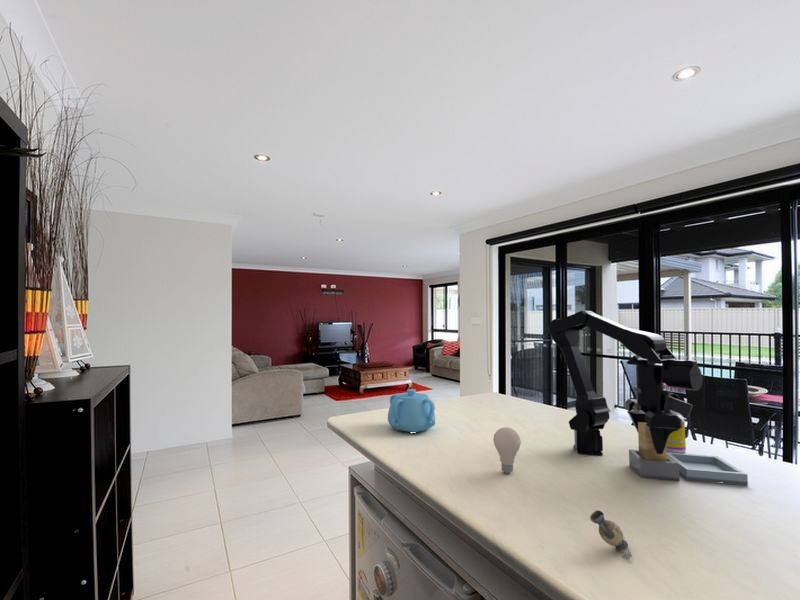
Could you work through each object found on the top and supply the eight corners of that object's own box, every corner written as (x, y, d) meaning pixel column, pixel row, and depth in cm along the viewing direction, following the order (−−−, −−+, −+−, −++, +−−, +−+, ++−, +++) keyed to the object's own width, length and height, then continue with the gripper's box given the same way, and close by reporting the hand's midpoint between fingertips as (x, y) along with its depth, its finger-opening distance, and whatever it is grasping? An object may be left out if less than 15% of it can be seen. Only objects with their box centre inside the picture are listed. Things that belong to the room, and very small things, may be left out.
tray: (687, 480, 89) (686, 469, 89) (664, 461, 100) (664, 452, 100) (747, 485, 86) (747, 474, 86) (717, 466, 97) (717, 456, 97)
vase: (594, 557, 60) (592, 516, 61) (589, 541, 65) (587, 504, 66) (633, 563, 58) (630, 522, 59) (624, 546, 63) (622, 508, 64)
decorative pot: (385, 436, 123) (385, 393, 123) (389, 422, 139) (389, 385, 139) (435, 437, 122) (435, 394, 123) (433, 423, 138) (433, 385, 139)
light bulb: (521, 469, 95) (520, 425, 95) (521, 479, 89) (520, 432, 89) (494, 466, 97) (494, 422, 98) (492, 476, 91) (491, 429, 91)
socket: (641, 477, 90) (640, 460, 90) (629, 465, 98) (628, 449, 98) (679, 481, 88) (678, 463, 88) (664, 468, 96) (663, 452, 96)
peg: (646, 472, 91) (644, 426, 92) (639, 465, 96) (637, 422, 96) (667, 474, 90) (665, 428, 91) (659, 467, 95) (657, 423, 95)
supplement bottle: (690, 455, 106) (689, 408, 106) (664, 453, 107) (662, 407, 108) (678, 447, 112) (676, 403, 113) (653, 445, 113) (652, 402, 114)
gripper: (707, 392, 83) (710, 464, 82) (669, 379, 101) (671, 438, 101) (650, 390, 86) (653, 459, 85) (623, 378, 104) (625, 435, 103)
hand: (651, 447), depth 93 cm, fingers open, 9 cm apart
